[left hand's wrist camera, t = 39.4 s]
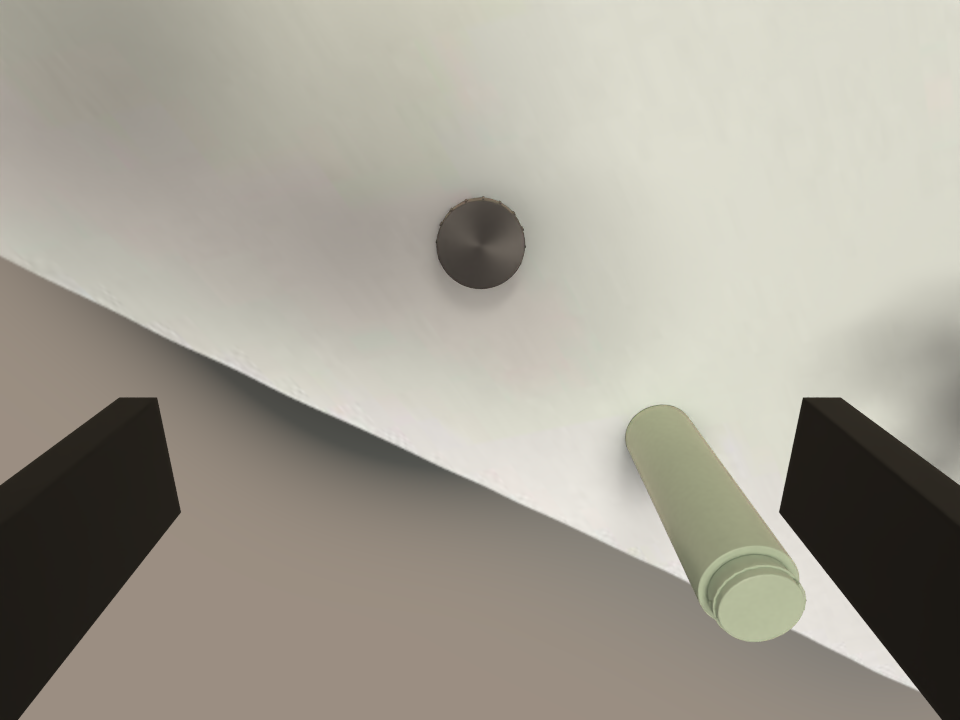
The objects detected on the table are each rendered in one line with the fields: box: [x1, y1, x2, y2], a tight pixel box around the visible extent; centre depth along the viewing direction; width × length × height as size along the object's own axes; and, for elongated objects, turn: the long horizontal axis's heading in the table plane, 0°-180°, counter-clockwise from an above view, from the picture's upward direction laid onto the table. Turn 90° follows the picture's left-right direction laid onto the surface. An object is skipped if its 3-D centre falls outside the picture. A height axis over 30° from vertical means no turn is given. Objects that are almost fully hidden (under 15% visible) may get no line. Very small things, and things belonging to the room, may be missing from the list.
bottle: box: [625, 405, 806, 642], centre depth 36 cm, size 5×5×17 cm
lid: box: [436, 197, 526, 289], centre depth 38 cm, size 6×6×2 cm
